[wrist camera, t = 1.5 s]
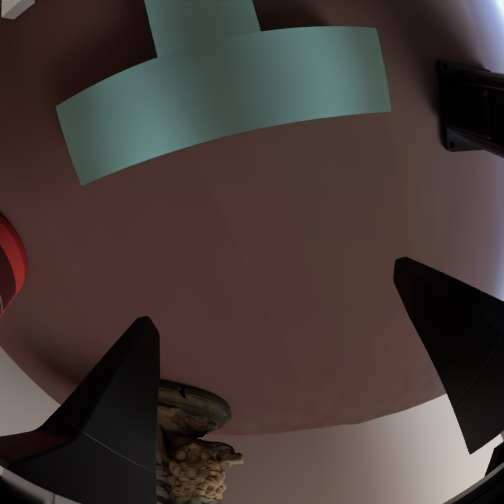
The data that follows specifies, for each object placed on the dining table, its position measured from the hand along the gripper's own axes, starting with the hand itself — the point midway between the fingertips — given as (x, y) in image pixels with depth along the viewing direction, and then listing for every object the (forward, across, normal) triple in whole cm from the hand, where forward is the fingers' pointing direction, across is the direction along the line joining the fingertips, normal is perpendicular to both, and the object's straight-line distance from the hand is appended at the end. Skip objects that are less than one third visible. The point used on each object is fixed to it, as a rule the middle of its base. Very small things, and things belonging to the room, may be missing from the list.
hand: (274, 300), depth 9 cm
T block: (+8, 0, -11) cm, 14 cm away
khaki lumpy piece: (+8, +15, +20) cm, 26 cm away
